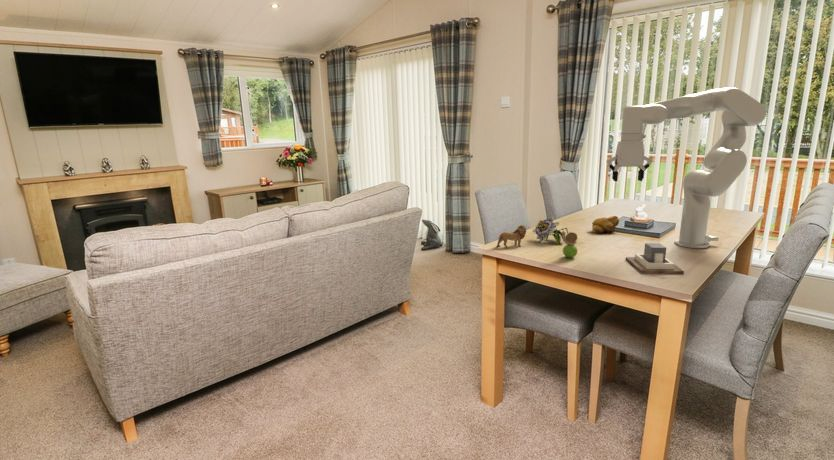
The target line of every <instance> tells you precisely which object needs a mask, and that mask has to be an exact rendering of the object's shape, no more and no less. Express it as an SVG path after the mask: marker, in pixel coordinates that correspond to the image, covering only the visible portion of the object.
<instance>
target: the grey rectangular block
mask: <svg viewBox="0 0 834 460" xmlns="http://www.w3.org/2000/svg"><path fill="white" fill-rule="evenodd" d="M643 249H644V250H643V251H644V252H643V254H644V259H645V260H647V261H648V262H649V263H665V258H666V256H667V255H666V254H667V247H666V246H665V245H663V244H662V243H660V242H659V243H658V242H657V243H656V242H645V243H644V248H643Z"/></svg>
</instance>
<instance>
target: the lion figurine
mask: <svg viewBox="0 0 834 460" xmlns="http://www.w3.org/2000/svg"><path fill="white" fill-rule="evenodd" d="M526 234H527V227H526V226H525V225H522V224H520V225H518V226H517V228H516V229H515V230H514V231H513V232H508V231H503V232H502V233H500V234H499V237H498V240H497V244H496V248H500V247H501V245H500V244H501V243H502V242H503V246H504V247H505V249H509V246H507V243H508V241H514V243H513V245H514V246H518V247H519V248H521V247H522V245H521V242H522V241H521V240H523V239H524V238H525V237H526Z"/></svg>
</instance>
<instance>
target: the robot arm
mask: <svg viewBox="0 0 834 460" xmlns="http://www.w3.org/2000/svg"><path fill="white" fill-rule="evenodd" d="M719 111H721V112H722V114H721V122H722V126H723V127H722V129H723V130H722V133H721V136H720V138H719V139H718V140H717V142H715V144H714V145H713V146H712V147H711V148H710V150H709V151H708V153H707V154H706V155H705V157H703V167H704V168H705V169H707V170H703V169H693V170H691V171H689V172H688V173H686V175H684V178H683V181H682V186H683V187H682V189H683V203H682V211H681V212H682V213H681V220H680V221H681V222H680V226H679V227H680V229H679V237H678V238H676V239H675V240H674V245H677V246H680V247H684V248H690V249H706V248H709V247H710V242H718V241H719V237H718V236H712V235H708V234H707V231H708V223H709V217H710V209H711V197H713V198H714V197H720V196H721V195H723V194H724V193H726V191H727V190H728V189H729V188H731V186H732V184H733V183H734V182H735V181H736V180H737V178H738V177H740V175H741V174H742V172H743V171H744V170H745V168H746V167H747V166H746V165H747V164H748V163H747V161H748V159H747V155H746V153H745V152H744V151H743V150H741V149H742V147H743V146H744V145H745V143H746V140H747V131H746V127H754V126H757V125H759V124H762V122H764V120H765V119H766V117H767V110H766V107H765V106H764V105H763V104H762V103H761V102H760V101H758V100H757V99H755V98H754V97H752V96H751V95H750V94H748V93H746V92H745V91H743V90H742V89H740V88H738V87H733V86H731V87H722V88H714V89H710V90H709V89H708V90H706V91H701V92H697V93H692V94H687V95H684V96H682V95H681V96H678V97H675V98H671V99H667V100H661V101H656V102H653V103H649V104H644V105H628V106H625V107H623V111H622V118H621V119H622V121H621V123H622V124H621V134H620V141H618V142H617V145H616V150H615V154H614V156H612V157H611V158H608V159H606V164H607V166H608V168H609V169H611V171H612V174H611V175H612V176H611V179H612V180H613V181H614V182H618V178H619V171H618V170H619V169H620V168H625V167H626V168H627V167H628V168H629V167H632V168H633V167H634V168H635V167H637V168H638V169H639V170H638V172H637V181H639V182H643V179H644V178H645V171H647V169H648V168H649V167H650V165H651V164H652V162H653V159H651V158H649V157H647V156H645V144H644V141H643V139H646V137H647V135H646V134H644V133H643V128H644V125H659V124H662V123H664V122H665V121H666V120H672V119H686V118H692V117H695V116H700V115H704V114H708V113H709V114H710V113H713V112H719ZM645 161H646V163H645V164H644V162H645ZM613 162H614V163H613ZM612 163H613V164H614V165H613V164H612Z"/></svg>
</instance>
